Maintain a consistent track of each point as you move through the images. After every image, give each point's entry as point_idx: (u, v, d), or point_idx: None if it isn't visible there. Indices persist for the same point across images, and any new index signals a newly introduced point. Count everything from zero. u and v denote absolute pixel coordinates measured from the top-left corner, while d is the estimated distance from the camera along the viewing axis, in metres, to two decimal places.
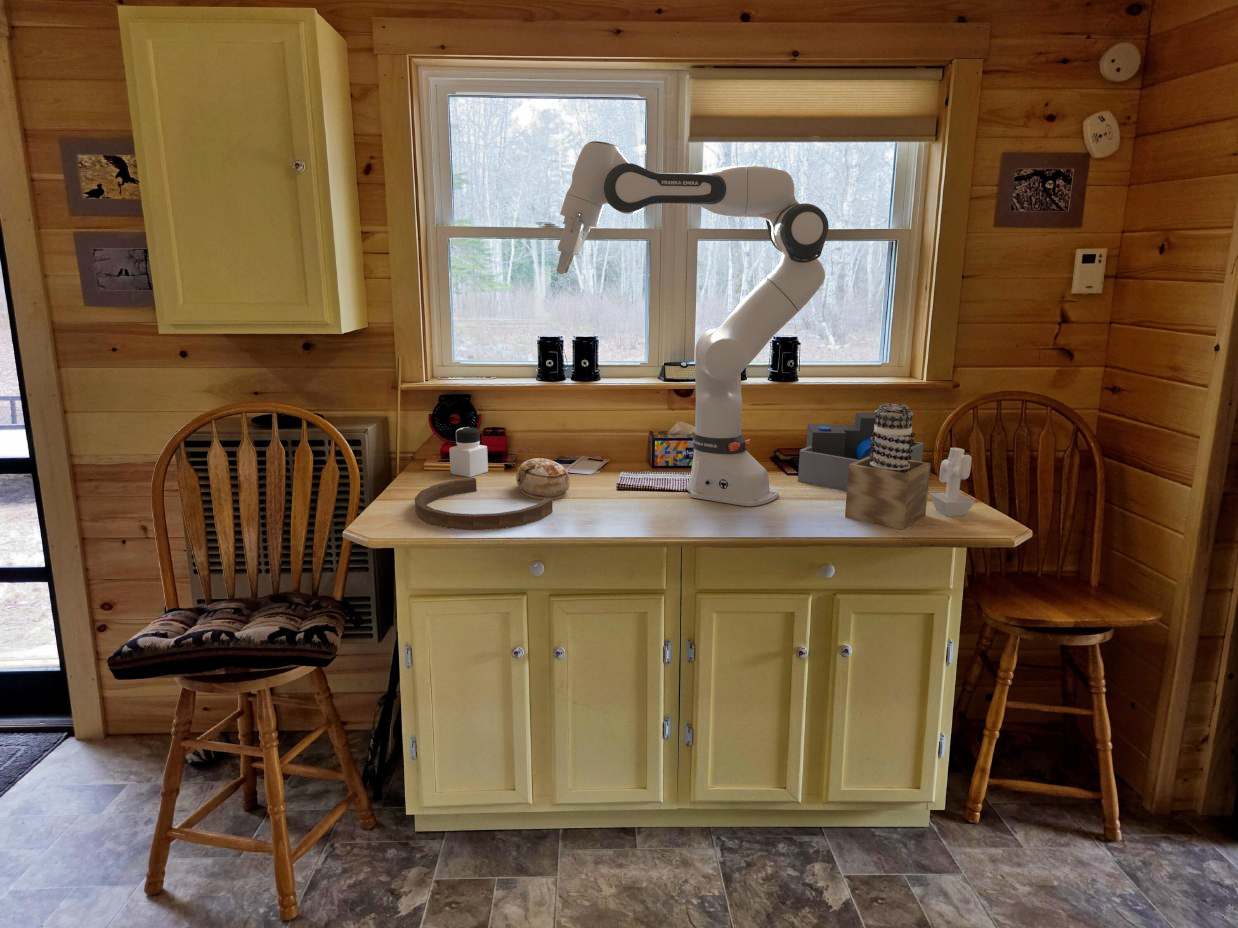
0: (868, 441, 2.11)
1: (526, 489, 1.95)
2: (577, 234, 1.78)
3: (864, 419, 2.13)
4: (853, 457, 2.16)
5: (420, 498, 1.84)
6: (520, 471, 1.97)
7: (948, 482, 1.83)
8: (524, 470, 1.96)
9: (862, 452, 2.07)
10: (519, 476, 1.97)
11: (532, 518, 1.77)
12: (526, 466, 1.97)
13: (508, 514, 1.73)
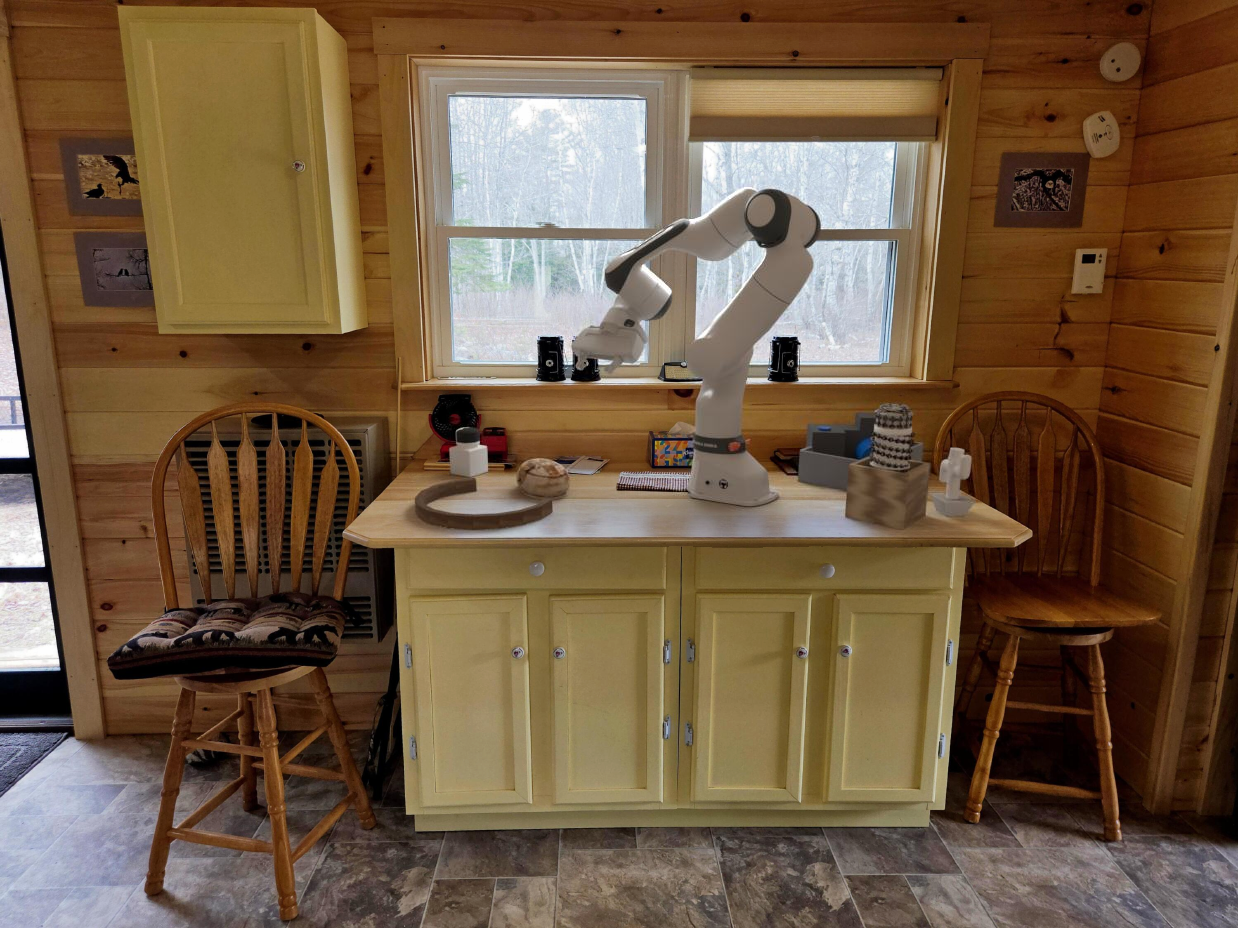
0: (868, 441, 2.11)
1: (526, 489, 1.95)
2: None
3: (864, 419, 2.13)
4: (853, 457, 2.16)
5: (420, 498, 1.84)
6: (520, 471, 1.97)
7: (948, 482, 1.83)
8: (524, 470, 1.96)
9: (862, 452, 2.08)
10: (519, 476, 1.97)
11: (532, 518, 1.77)
12: (527, 466, 1.97)
13: (508, 514, 1.73)
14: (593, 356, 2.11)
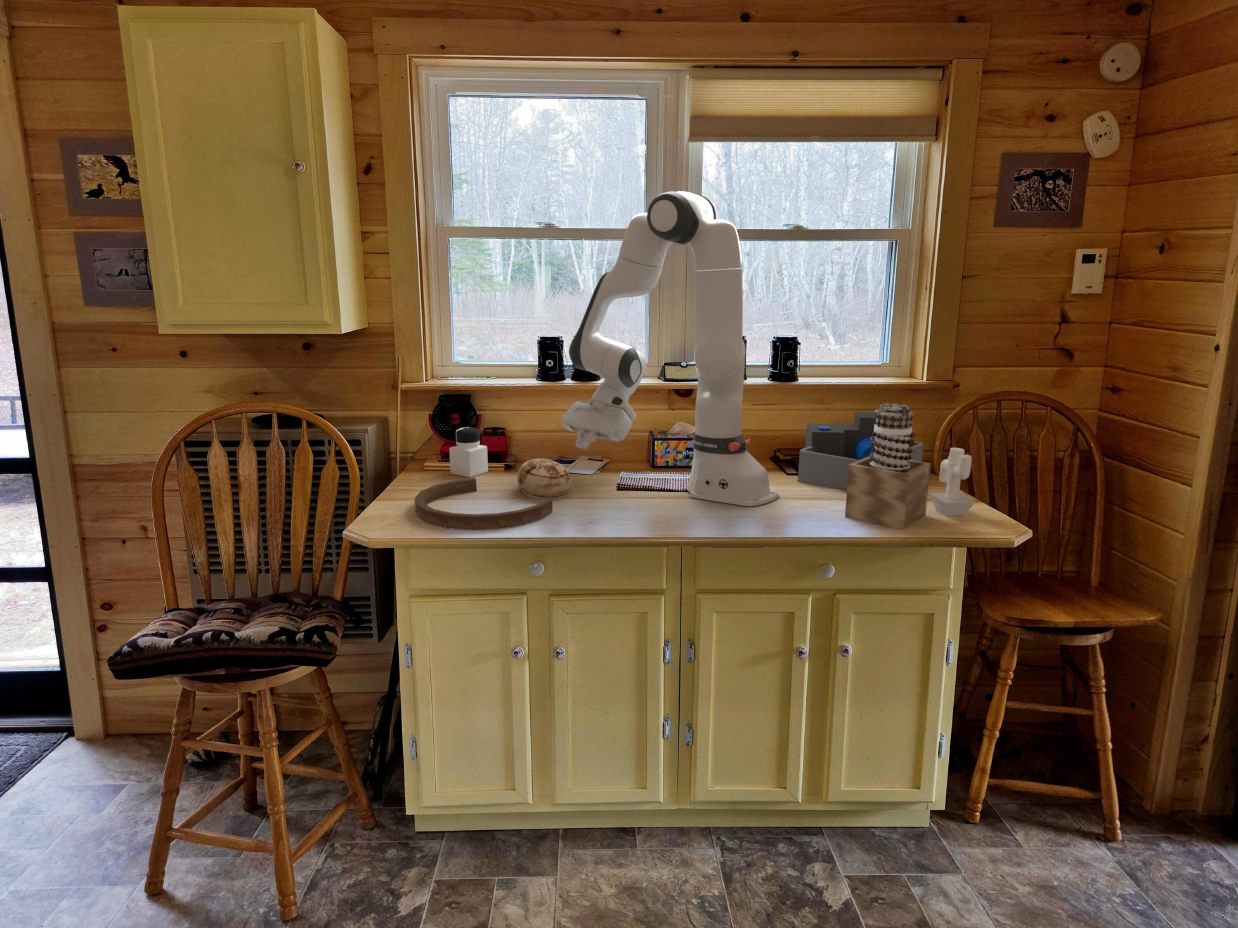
0: (867, 440, 2.12)
1: (527, 489, 1.95)
2: None
3: (863, 418, 2.14)
4: (852, 456, 2.16)
5: (420, 498, 1.84)
6: (521, 471, 1.97)
7: (948, 482, 1.83)
8: (525, 470, 1.95)
9: (862, 451, 2.08)
10: (520, 476, 1.97)
11: (532, 518, 1.77)
12: (527, 466, 1.97)
13: (508, 514, 1.73)
14: None
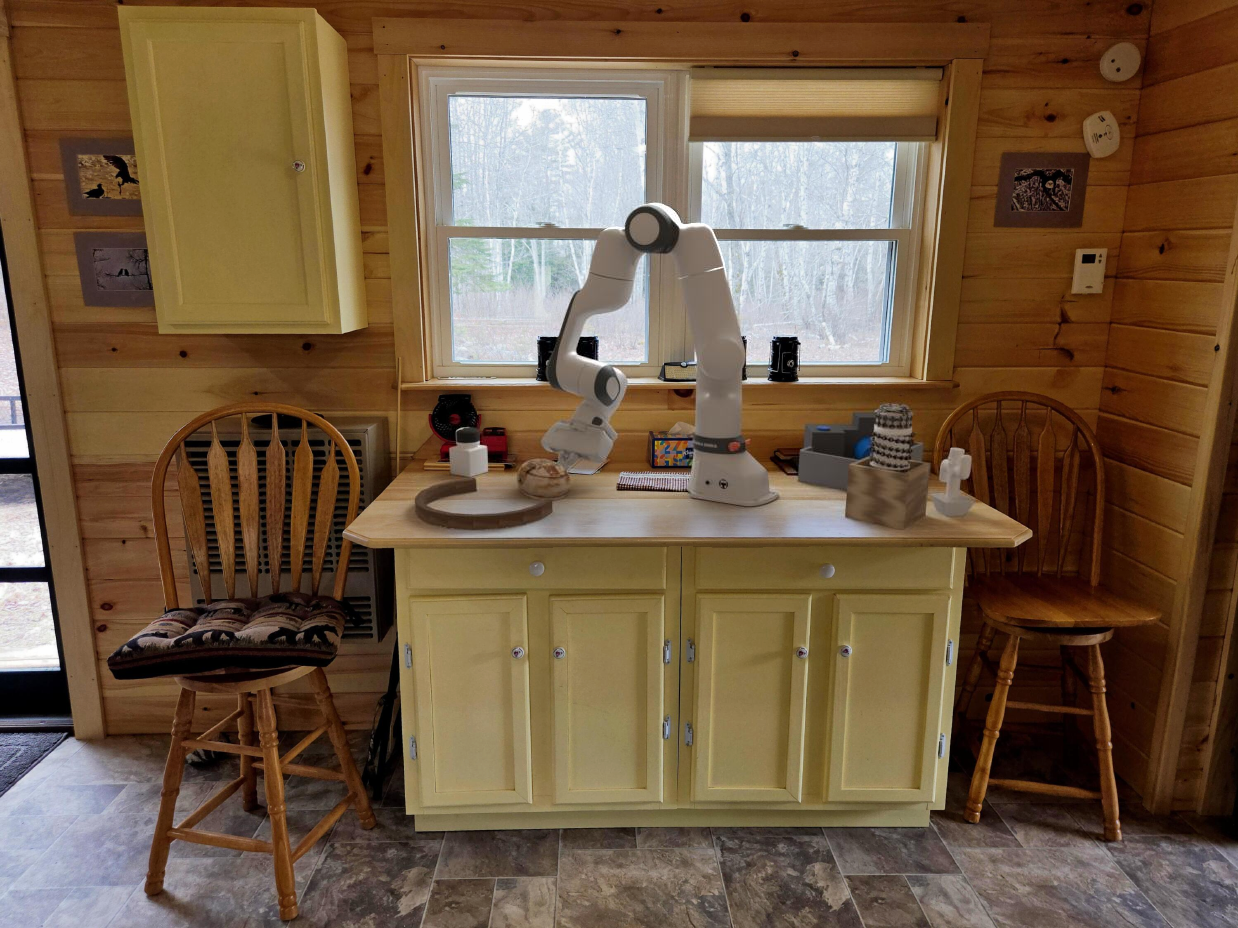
0: (867, 440, 2.12)
1: (527, 490, 1.95)
2: None
3: (862, 418, 2.14)
4: (851, 456, 2.17)
5: (420, 498, 1.84)
6: (521, 472, 1.96)
7: (948, 482, 1.83)
8: (525, 471, 1.95)
9: (862, 451, 2.08)
10: (520, 477, 1.96)
11: (532, 518, 1.77)
12: (527, 466, 1.96)
13: (508, 514, 1.73)
14: None
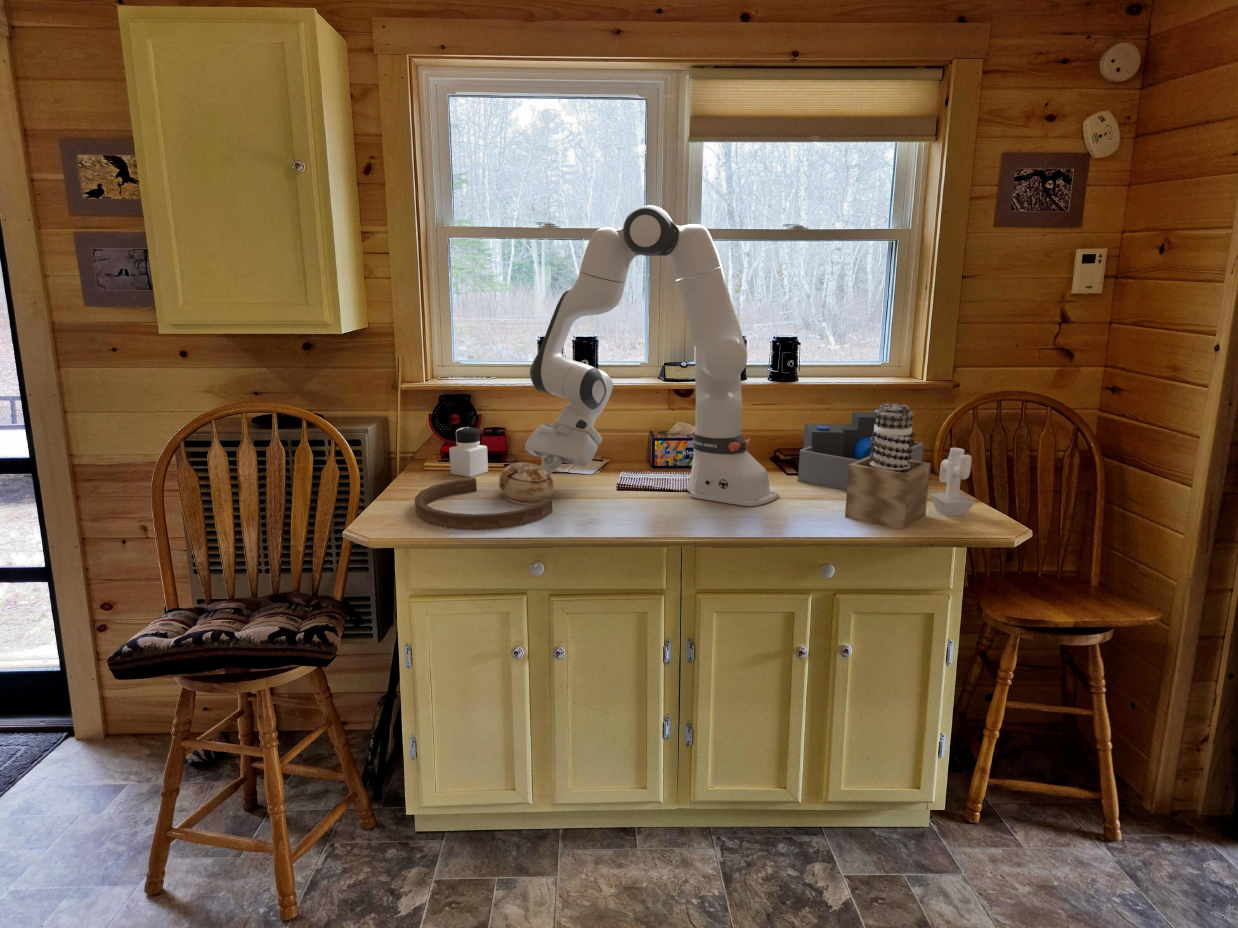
0: (867, 440, 2.12)
1: (509, 494, 1.91)
2: None
3: (862, 418, 2.14)
4: (851, 456, 2.17)
5: (420, 498, 1.84)
6: (503, 476, 1.92)
7: (948, 482, 1.83)
8: (507, 475, 1.91)
9: (862, 451, 2.08)
10: (502, 481, 1.92)
11: (532, 518, 1.77)
12: (509, 470, 1.92)
13: (508, 514, 1.73)
14: None
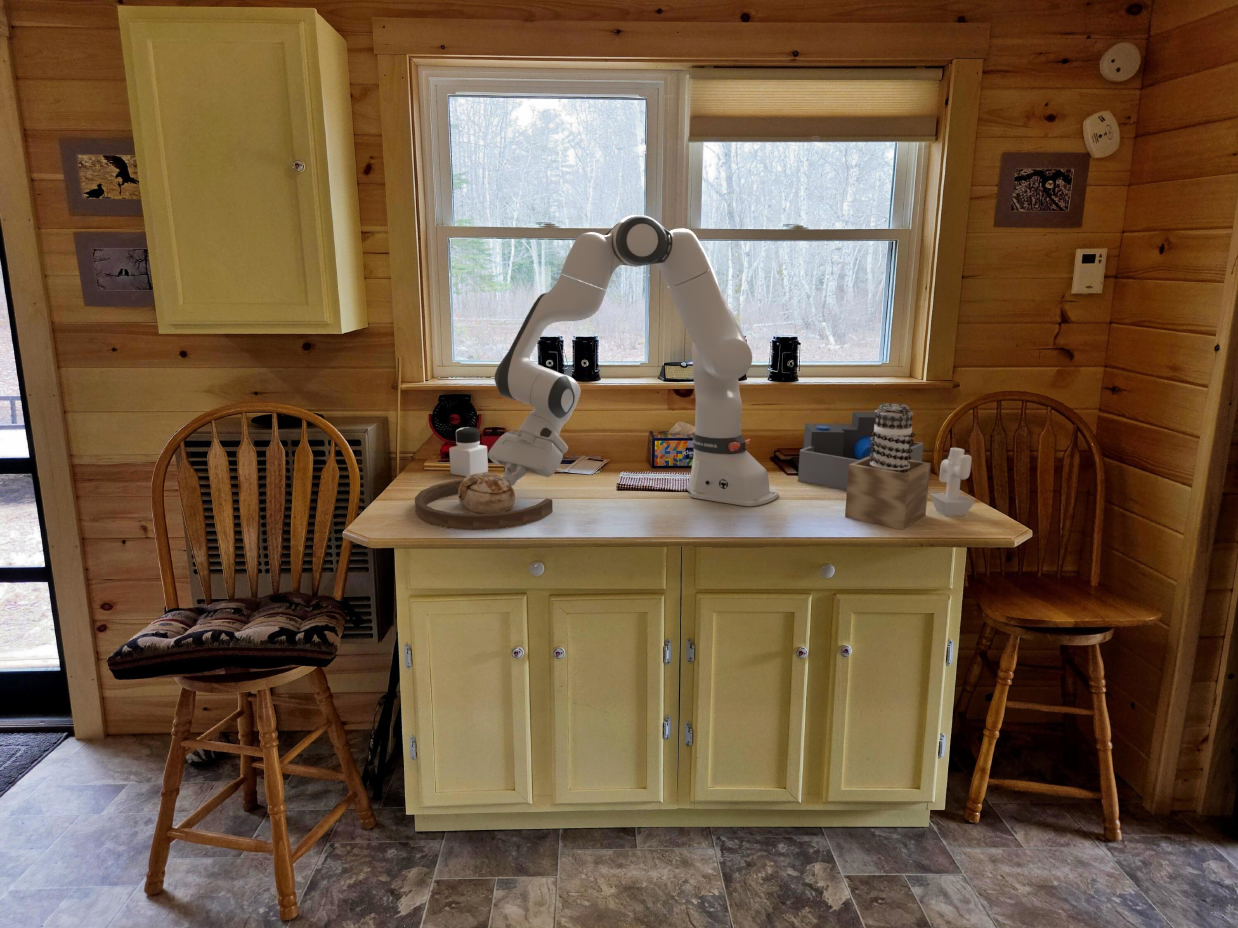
0: (866, 440, 2.12)
1: (467, 506, 1.82)
2: None
3: (862, 418, 2.14)
4: (851, 456, 2.17)
5: (420, 498, 1.84)
6: (461, 487, 1.84)
7: (948, 482, 1.83)
8: (465, 486, 1.82)
9: (861, 451, 2.09)
10: (460, 492, 1.84)
11: (532, 518, 1.77)
12: (468, 481, 1.83)
13: (508, 514, 1.73)
14: None
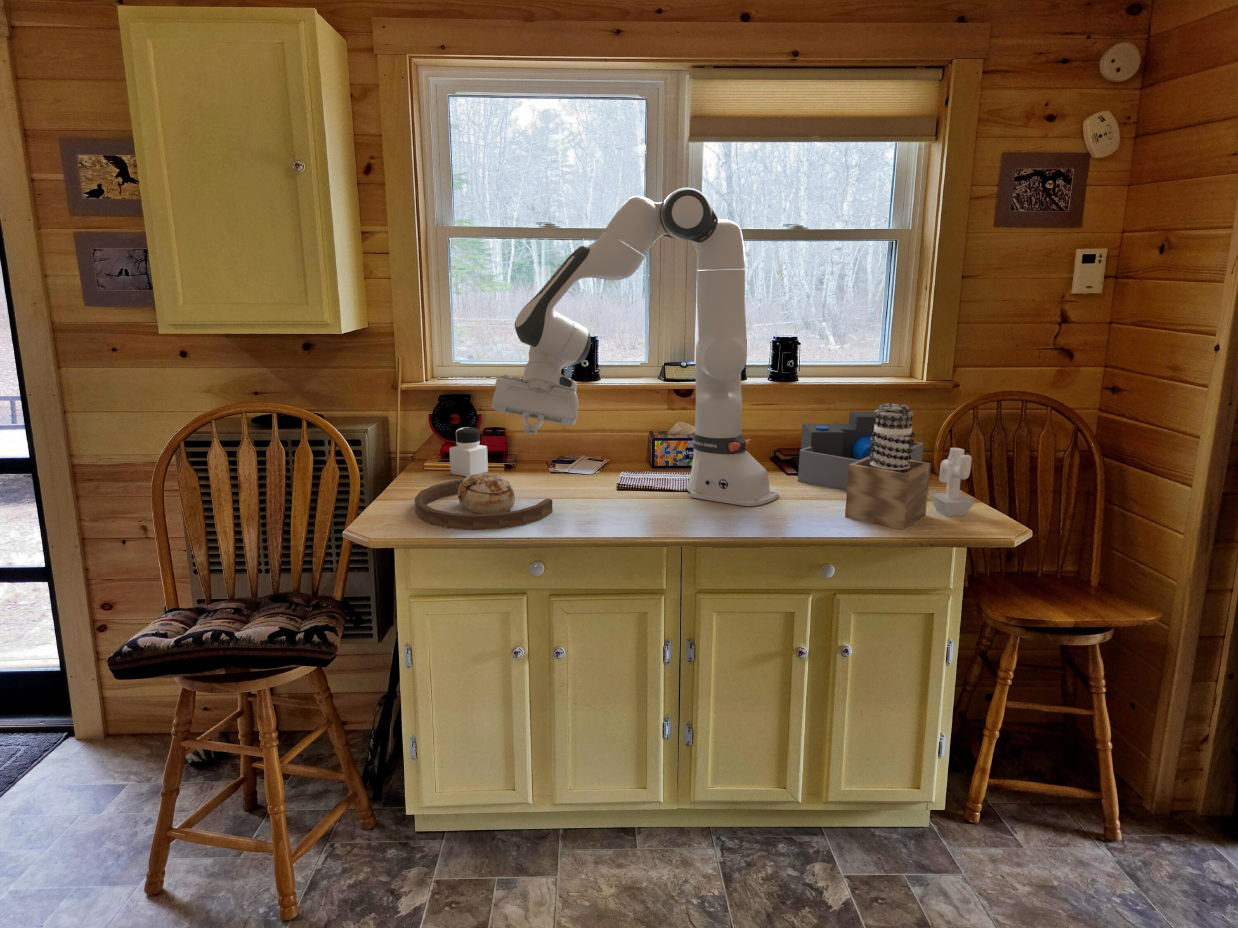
0: (865, 440, 2.12)
1: (467, 507, 1.82)
2: (497, 387, 1.93)
3: (860, 418, 2.14)
4: (849, 456, 2.17)
5: (420, 498, 1.84)
6: (461, 487, 1.83)
7: (948, 482, 1.83)
8: (465, 486, 1.82)
9: (861, 451, 2.09)
10: (460, 492, 1.83)
11: (532, 518, 1.77)
12: (468, 481, 1.83)
13: (508, 514, 1.73)
14: (518, 413, 1.94)
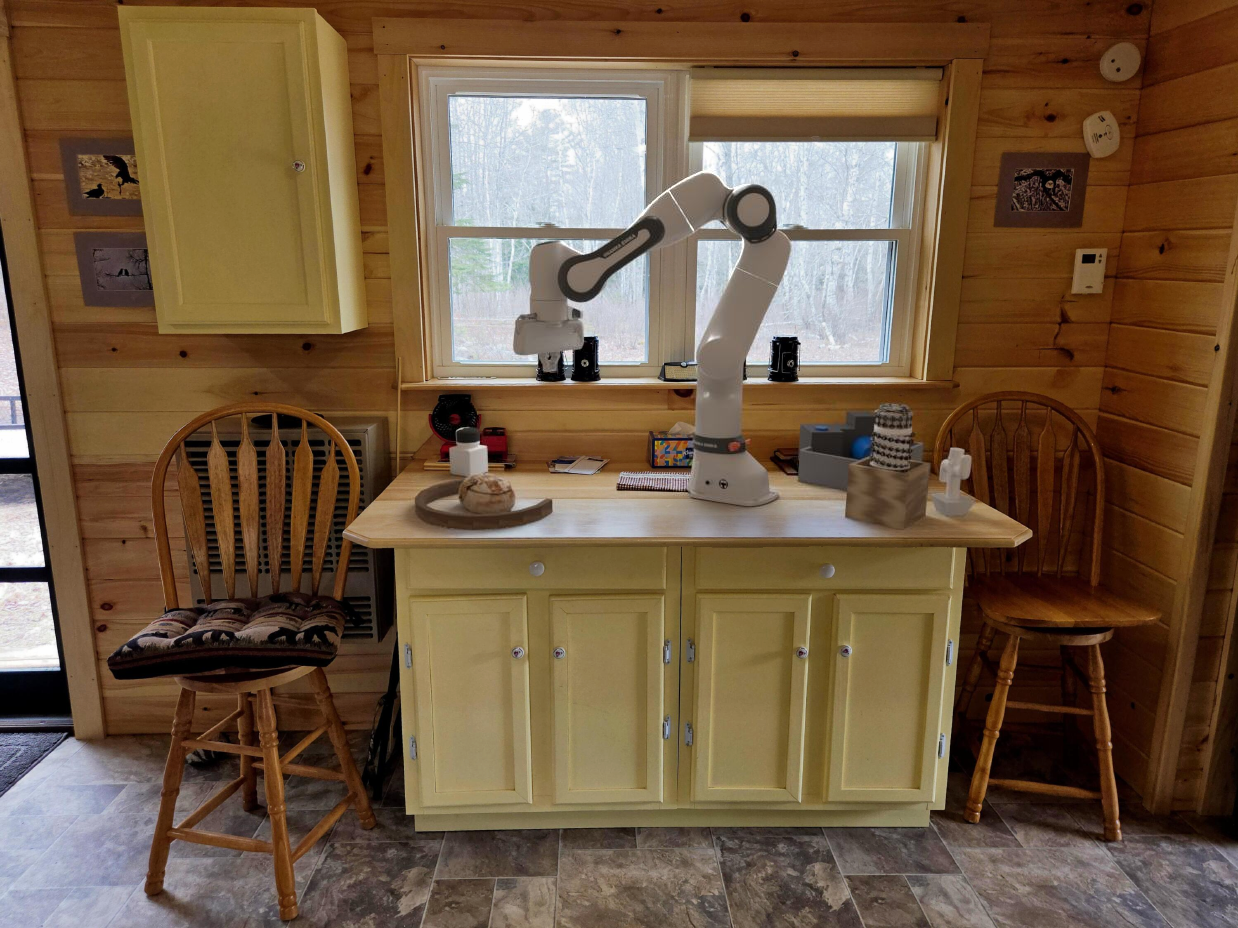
0: (865, 439, 2.13)
1: (468, 507, 1.82)
2: (522, 335, 1.85)
3: (859, 417, 2.15)
4: (848, 455, 2.17)
5: (420, 498, 1.84)
6: (462, 487, 1.83)
7: (948, 482, 1.83)
8: (466, 486, 1.82)
9: (862, 450, 2.09)
10: (461, 493, 1.83)
11: (532, 518, 1.77)
12: (468, 482, 1.83)
13: (508, 514, 1.73)
14: None
